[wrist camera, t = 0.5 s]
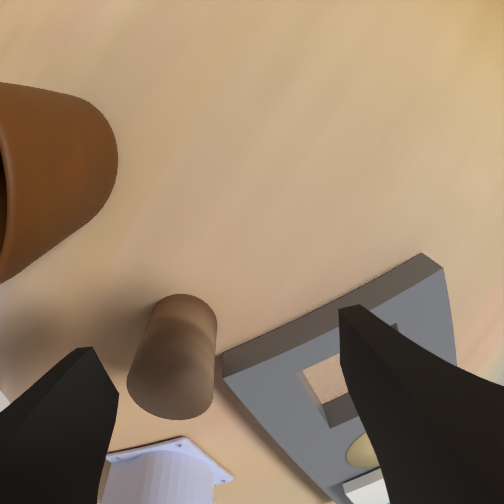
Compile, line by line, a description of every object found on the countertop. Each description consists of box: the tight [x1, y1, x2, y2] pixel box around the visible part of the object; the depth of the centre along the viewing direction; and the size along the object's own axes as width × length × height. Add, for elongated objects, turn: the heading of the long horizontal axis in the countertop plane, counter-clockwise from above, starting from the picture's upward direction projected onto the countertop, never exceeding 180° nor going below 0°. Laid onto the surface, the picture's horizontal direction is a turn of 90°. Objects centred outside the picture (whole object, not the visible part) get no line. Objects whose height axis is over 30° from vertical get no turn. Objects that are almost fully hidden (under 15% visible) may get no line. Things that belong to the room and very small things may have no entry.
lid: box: [342, 468, 390, 504], centre depth 23 cm, size 10×9×2 cm
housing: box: [222, 253, 457, 504], centre depth 22 cm, size 14×26×3 cm, turn 27°
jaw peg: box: [127, 294, 217, 420], centre depth 16 cm, size 4×4×6 cm
